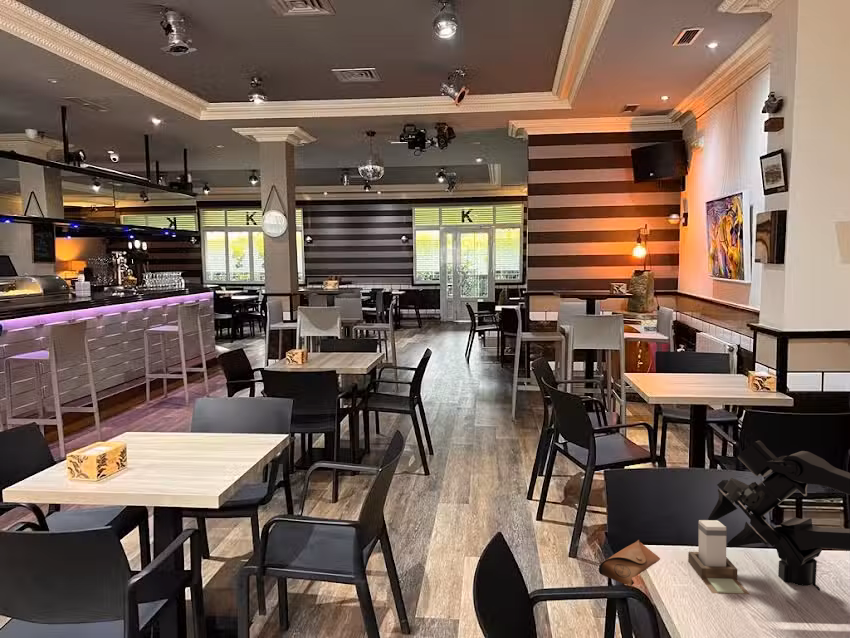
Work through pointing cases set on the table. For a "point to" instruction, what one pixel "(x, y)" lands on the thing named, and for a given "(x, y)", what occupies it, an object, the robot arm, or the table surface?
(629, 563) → the sunglasses case
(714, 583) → the green mat
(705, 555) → the cream square block
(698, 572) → the brown wooden tray
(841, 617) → the table surface
